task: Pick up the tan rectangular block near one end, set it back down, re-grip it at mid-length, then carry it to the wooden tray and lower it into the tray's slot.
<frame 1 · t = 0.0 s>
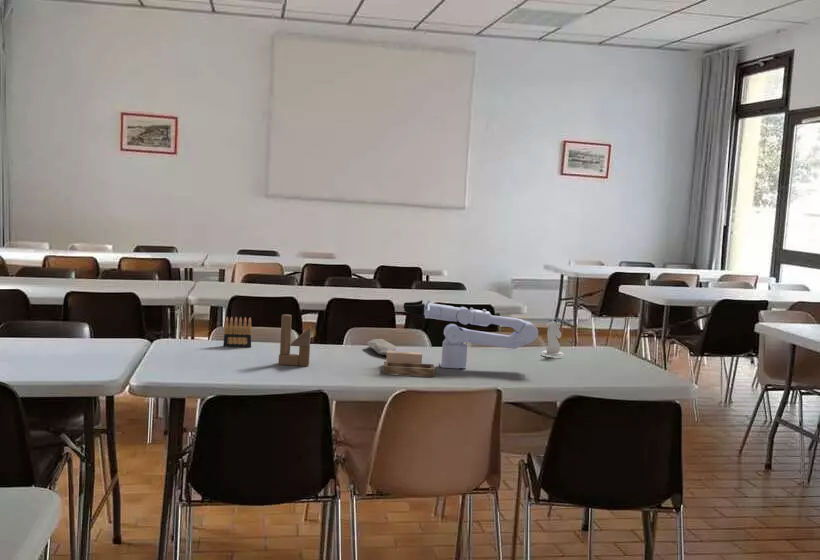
hand: (404, 306, 304), 22 cm above the table, tool horizontal, fingers open, 7 cm apart
chess piece: (552, 356, 341), on the table
tan rectangular block: (403, 367, 301), on the table
wooden tray: (408, 373, 291), on the table
stone tool: (381, 353, 326), on the table
ammunition clip: (237, 347, 318), on the table
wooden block: (293, 365, 292), on the table
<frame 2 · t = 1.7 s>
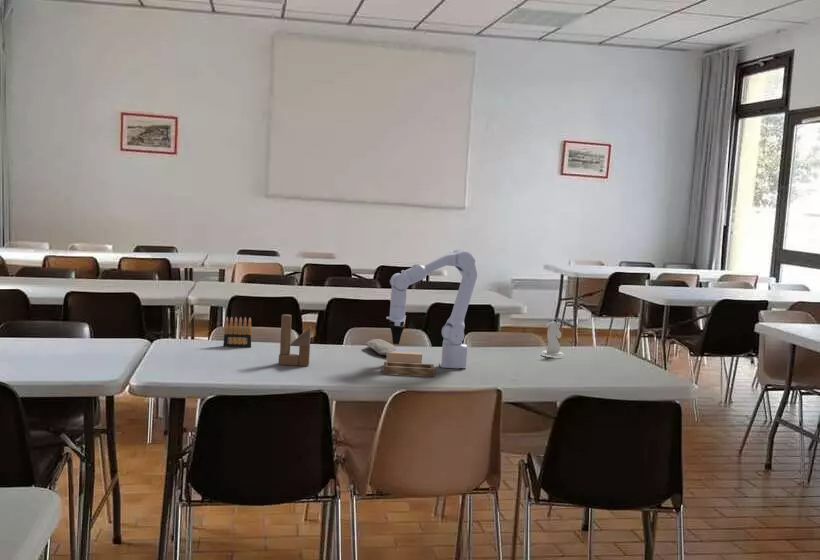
hand: (395, 342, 300), 9 cm above the table, tool pointing down, fingers open, 7 cm apart
nothing on the table moved.
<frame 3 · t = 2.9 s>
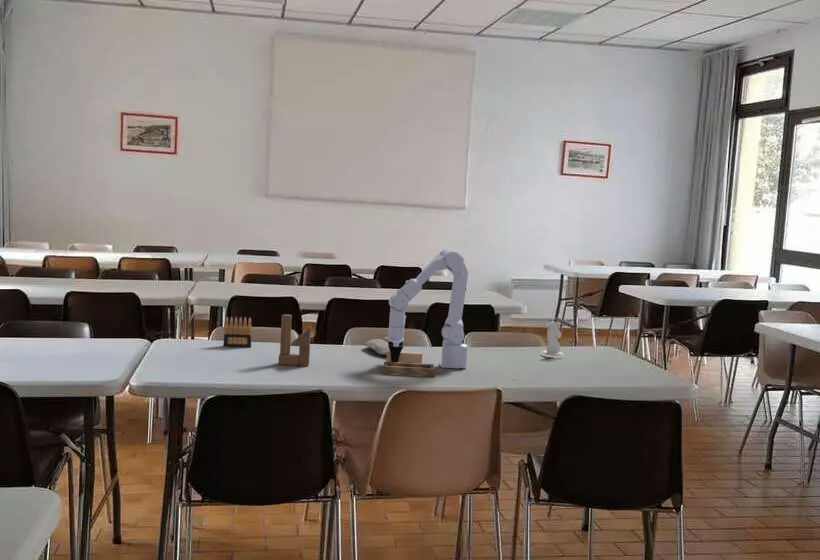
hand: (394, 362, 301), 1 cm above the table, tool pointing down, fingers closed on tan rectangular block, 4 cm apart
tan rectangular block: (403, 366, 301), on the table, touching gripper
everything else where it was.
when the fingers open (2 cm above the table, at t = 4.9 s): tan rectangular block stays where it is, on the table.
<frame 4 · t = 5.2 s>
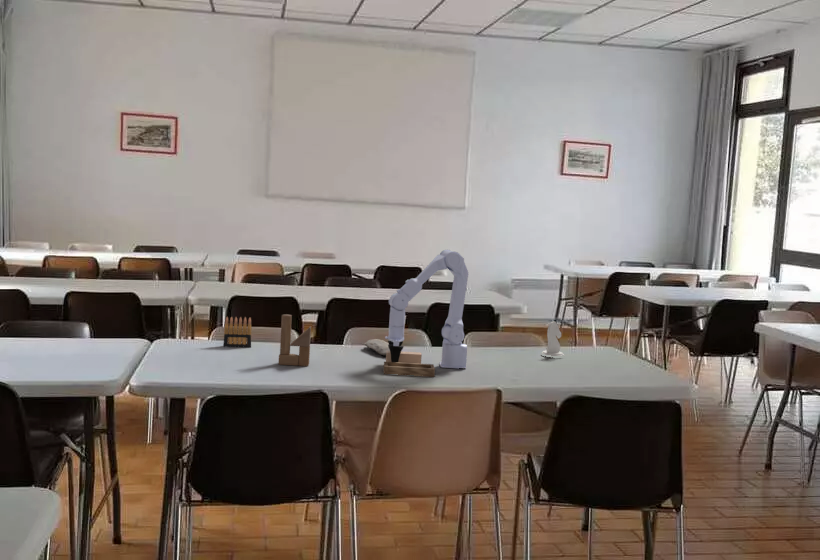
hand: (394, 361, 301), 2 cm above the table, tool pointing down, fingers open, 7 cm apart
tan rectangular block: (403, 367, 301), on the table
everything else where it was.
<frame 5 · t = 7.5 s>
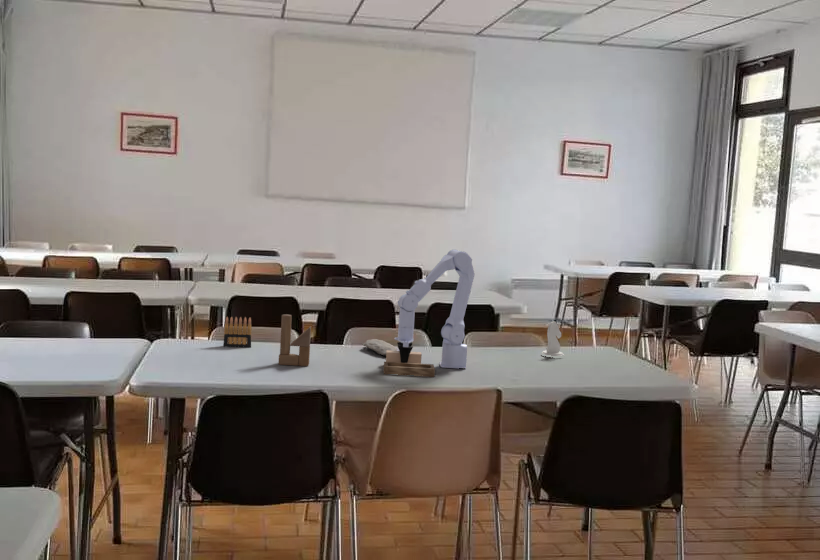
hand: (403, 362, 301), 1 cm above the table, tool pointing down, fingers closed on tan rectangular block, 4 cm apart
tan rectangular block: (403, 366, 301), on the table, touching gripper
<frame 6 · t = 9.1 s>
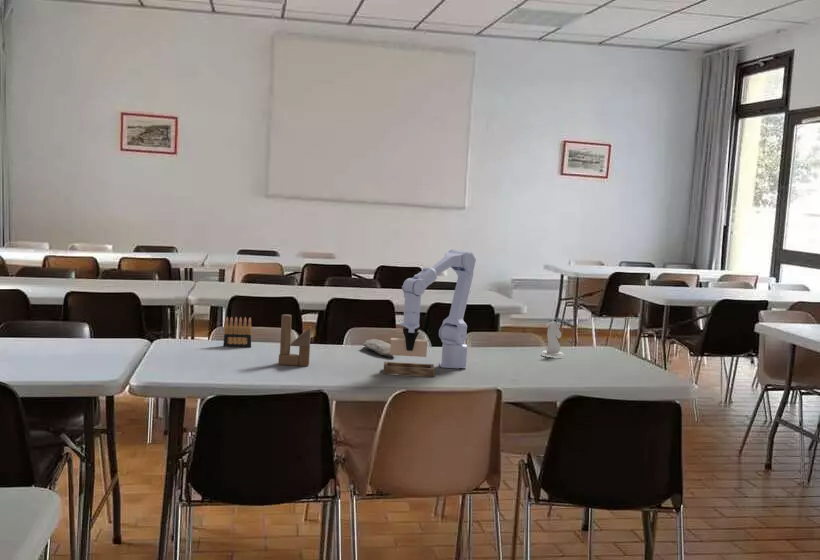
hand: (409, 349, 291), 8 cm above the table, tool pointing down, fingers closed on tan rectangular block, 4 cm apart
tan rectangular block: (408, 354, 291), point 6 cm above the table, touching gripper
when the fingers open (3 cm above the table, at t = 10.6 s): tan rectangular block stays where it is, resting on wooden tray.
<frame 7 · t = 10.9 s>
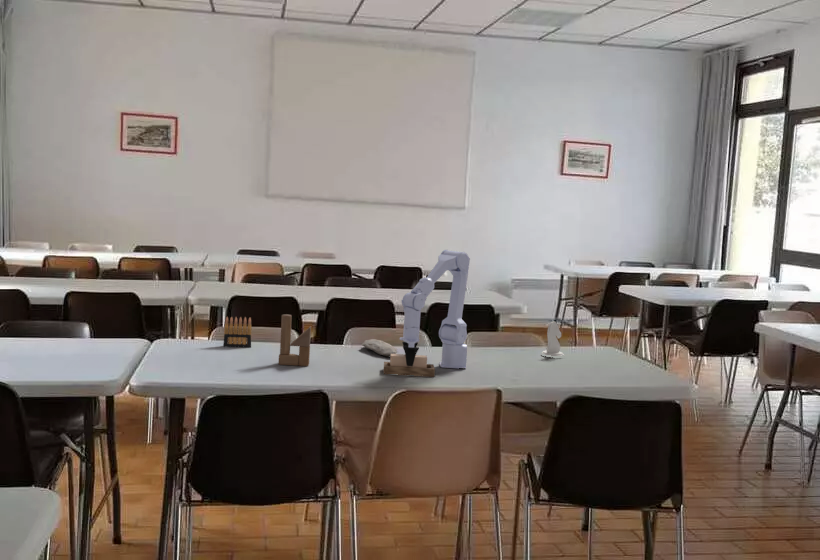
hand: (409, 363, 290), 3 cm above the table, tool pointing down, fingers open, 7 cm apart
tan rectangular block: (407, 370, 291), point 1 cm above the table, touching wooden tray
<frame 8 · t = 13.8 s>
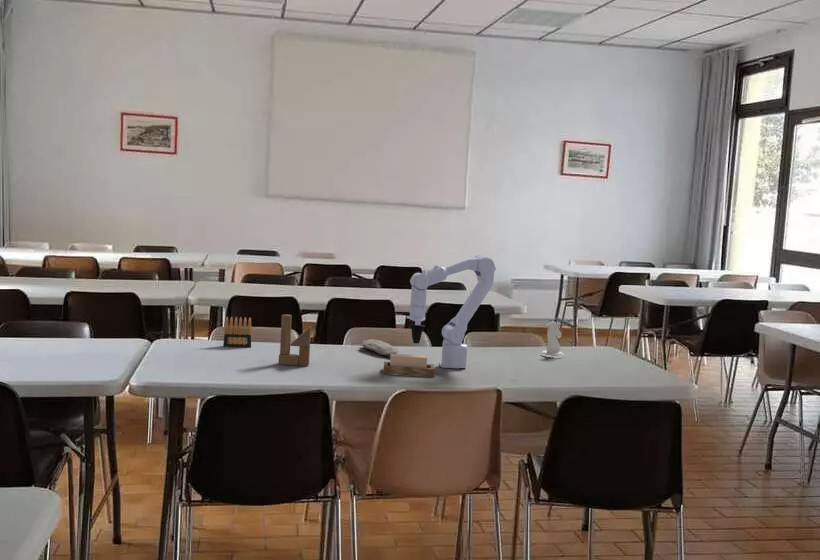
hand: (415, 341, 302), 9 cm above the table, tool pointing down, fingers open, 7 cm apart
at the end: tan rectangular block 0.3 cm off-centre on the wooden tray, point 0.8 cm above the wooden tray's base; tan rectangular block tilted 0°; the gripper is holding nothing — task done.
